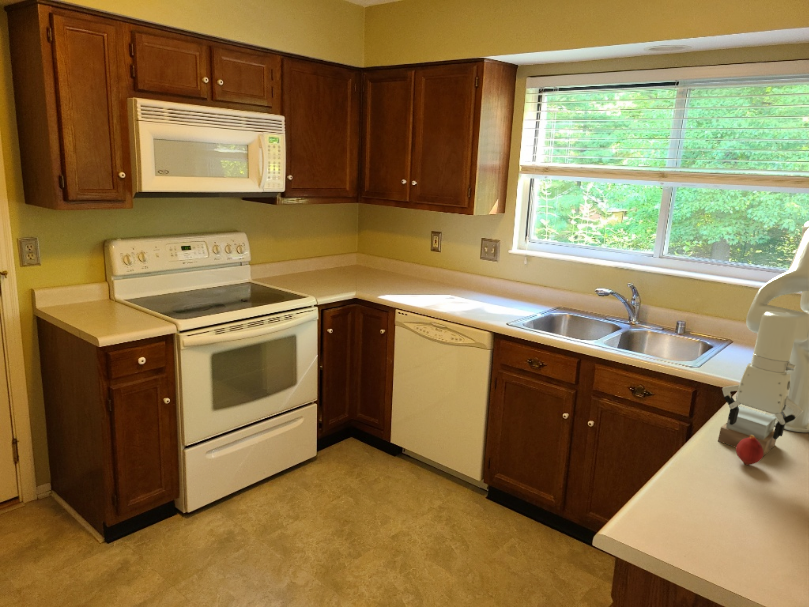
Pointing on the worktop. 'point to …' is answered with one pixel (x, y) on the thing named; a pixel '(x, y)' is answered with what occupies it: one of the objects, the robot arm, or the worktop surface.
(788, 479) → the worktop surface
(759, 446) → the onion
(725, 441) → the wood and metal block
